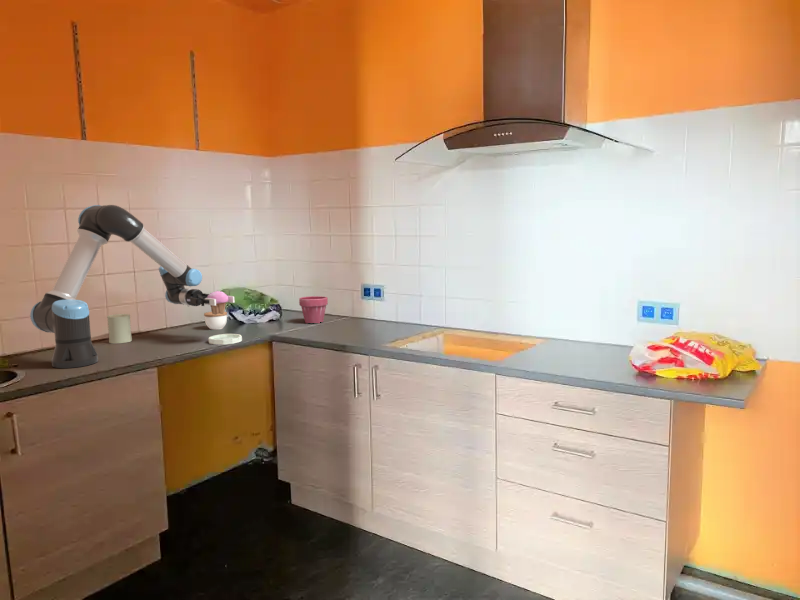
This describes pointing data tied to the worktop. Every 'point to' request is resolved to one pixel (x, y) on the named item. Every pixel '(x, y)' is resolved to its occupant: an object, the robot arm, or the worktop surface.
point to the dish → (225, 339)
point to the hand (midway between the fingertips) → (224, 300)
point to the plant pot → (313, 308)
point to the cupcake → (218, 302)
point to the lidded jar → (215, 320)
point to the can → (119, 328)
